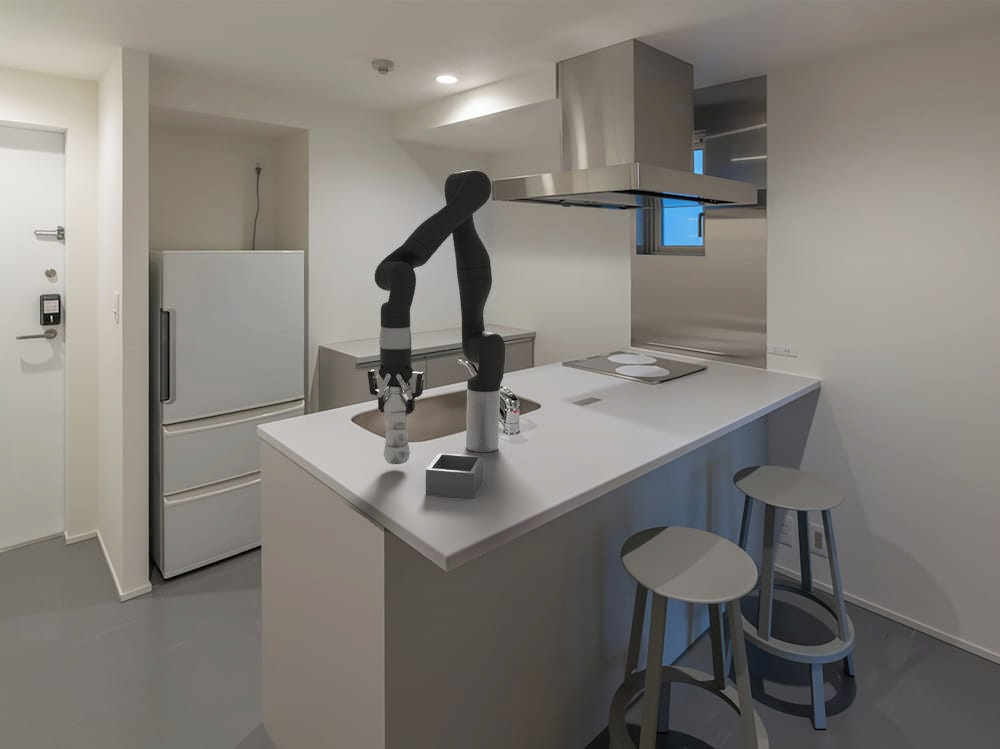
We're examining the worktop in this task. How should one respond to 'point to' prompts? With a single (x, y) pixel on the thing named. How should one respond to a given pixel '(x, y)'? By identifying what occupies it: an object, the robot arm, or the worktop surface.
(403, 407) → the plastic bottle
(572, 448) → the worktop surface
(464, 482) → the storage caddy
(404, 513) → the worktop surface
